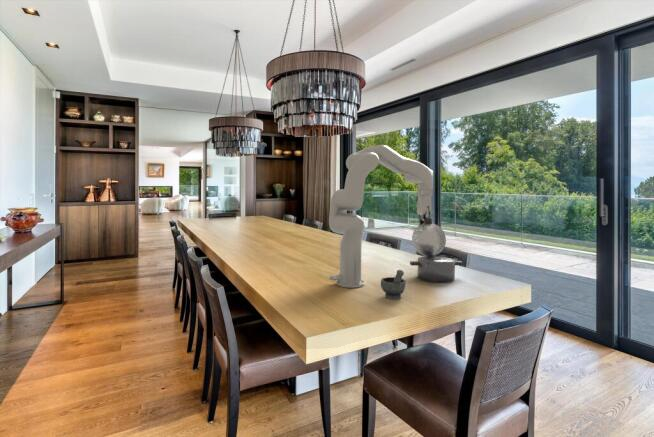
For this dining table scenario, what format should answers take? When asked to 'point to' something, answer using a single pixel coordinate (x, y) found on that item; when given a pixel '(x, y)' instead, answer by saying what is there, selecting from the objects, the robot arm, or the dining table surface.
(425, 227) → the pot lid
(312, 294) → the dining table surface
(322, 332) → the dining table surface
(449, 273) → the pot
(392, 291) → the mortar and pestle
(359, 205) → the robot arm
